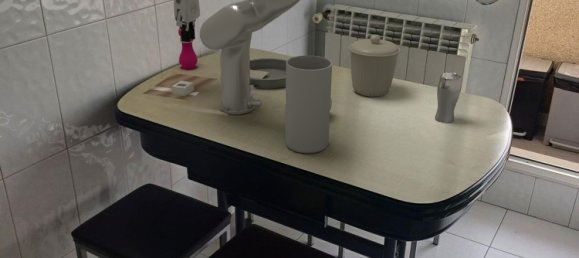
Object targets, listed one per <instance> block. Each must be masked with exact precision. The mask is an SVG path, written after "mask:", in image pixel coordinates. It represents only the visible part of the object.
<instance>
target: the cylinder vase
mask: <svg viewBox="0 0 579 258" xmlns="http://www.w3.org/2000/svg"><path fill="white" fill-rule="evenodd" d="M286 60H287V61H286V86H285V128H284V129H285V136H284V137H285V140H284V141H285V143H284V144H285V145H286V146H287V147H288V149H289V150H292V151H293V152H296V153H301V154H315V153H319V152H322V151H323V150H325V149H326V148H327V147H328V144H329V139H330V137H329V134H330V117H331V116H330V114H331V112H330V111H331V110H330V98H331V99H332V95H331V93H332V77H333V75H332V74H333V72H332V71H333V62H332V60H330V59H329V58H326V57H324V56H319V55H297V56H293V57H291V58H290V57H289V58H288V59H286Z"/></svg>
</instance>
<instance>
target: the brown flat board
mask: <svg viewBox="0 0 579 258" xmlns="http://www.w3.org/2000/svg"><path fill="white" fill-rule="evenodd" d="M216 80H218V78H213V77H205V76H197V75H191V74H181V73H172V74H171V75H169V76H168V77H166V78H164V79H163V80H162V81H159V82H158V83H156V84H155V85H154V86H152V87H151V88H149V89H147V90H146V91H144V92H142V94H144V95H149V96H156V97H162V98H163V97H164V98H171V99H177V100H184V101H190V100H192V99H193V98H195V97H197V95H198V94H199V93H201V92H203V90H205V89H206V88H207V87H208V86H210V85H211V84H213V83H214V82H216ZM180 81H187V82H193V83H194V91H193V92H191V93H190V94H188V95H186V96H180V95H174V94H173V93H172V86H173V85H175V84H176V83H178V82H180Z"/></svg>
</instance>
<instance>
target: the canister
mask: <svg viewBox="0 0 579 258" xmlns="http://www.w3.org/2000/svg"><path fill="white" fill-rule="evenodd" d="M348 49H349V50H348V51H350V53H349V54H350V55H349V56H350V73H351V74H350V75H351V76H350V77H351V85H352V89H353V91H354V92H356V93H357V94H358V95H359V94H360V95H361V96H366V97H382V96H385V95H386V94H388V92H389V91H390V89H391V88H392V83H393V80H394V75H395V70H396V67H397V62H398V56H399V54H400V53H401V51H402V50H401V48H400V47H399V45H397V44H396V43H394V42H392V41H389V40H386V39H381V37H380V35H379V34H372V35H371V36H370V38H364V39H359V40H356V41H354V42H352V43H350V44H349V45H348Z"/></svg>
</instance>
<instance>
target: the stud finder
mask: <svg viewBox="0 0 579 258" xmlns="http://www.w3.org/2000/svg"><path fill="white" fill-rule="evenodd" d="M193 91H194V83H193V82H187V81H180V82H178V83H176V84H175V85H173V86H172V93H173V94H174V95H180V96H186V95H188V94H190V93H191V92H193Z"/></svg>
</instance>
